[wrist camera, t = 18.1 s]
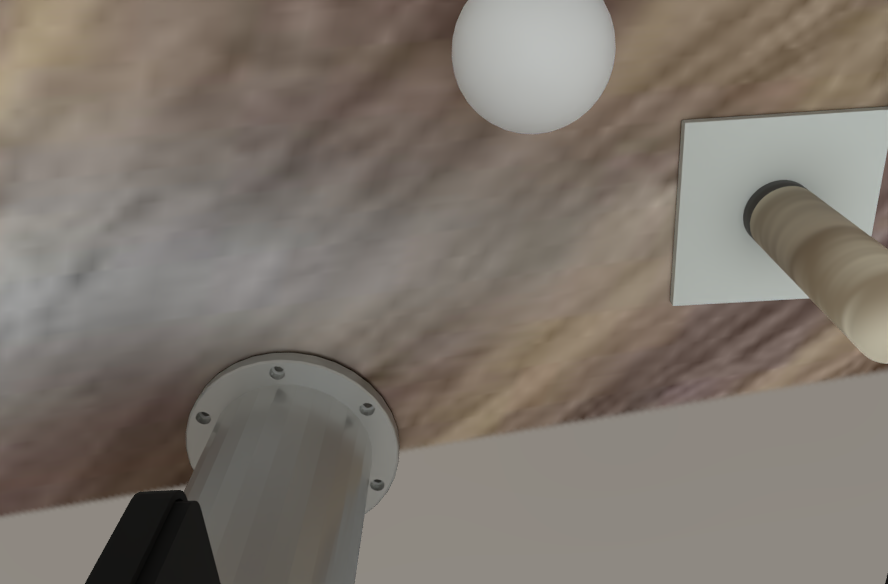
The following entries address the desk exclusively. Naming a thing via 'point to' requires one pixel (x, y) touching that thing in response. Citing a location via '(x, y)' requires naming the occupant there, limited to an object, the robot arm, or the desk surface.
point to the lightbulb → (533, 60)
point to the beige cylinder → (825, 260)
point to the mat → (745, 171)
